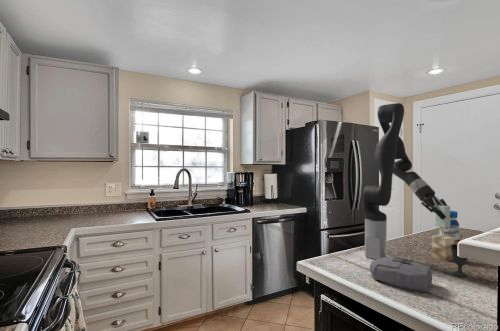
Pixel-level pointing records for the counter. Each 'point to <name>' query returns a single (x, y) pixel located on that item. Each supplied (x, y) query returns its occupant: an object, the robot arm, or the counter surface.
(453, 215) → the beverage bottle
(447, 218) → the sage block
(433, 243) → the tower top
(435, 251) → the tower bottom
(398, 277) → the grey rounded bag
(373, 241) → the robot arm
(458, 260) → the sundae
